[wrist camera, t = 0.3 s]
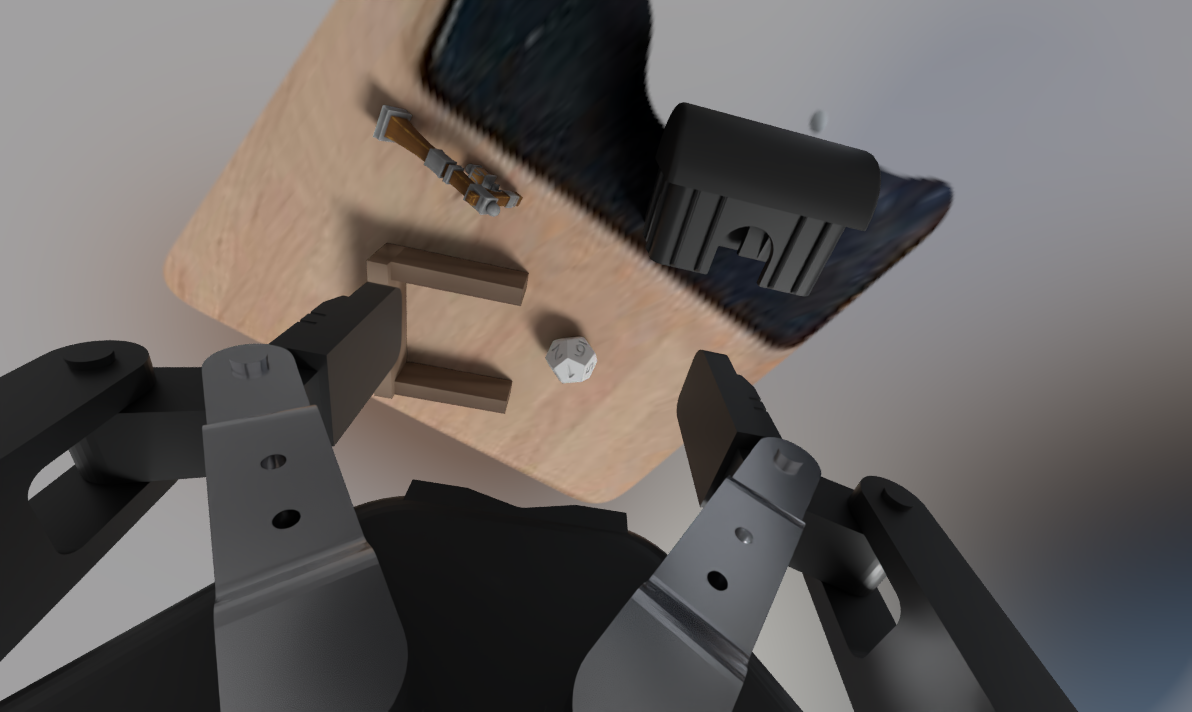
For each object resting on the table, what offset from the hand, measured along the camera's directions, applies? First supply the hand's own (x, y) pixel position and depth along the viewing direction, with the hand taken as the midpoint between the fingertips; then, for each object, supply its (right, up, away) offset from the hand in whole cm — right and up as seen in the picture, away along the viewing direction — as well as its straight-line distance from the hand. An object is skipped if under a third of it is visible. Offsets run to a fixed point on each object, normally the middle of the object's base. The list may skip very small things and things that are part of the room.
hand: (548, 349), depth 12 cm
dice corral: (-8, +2, +20) cm, 22 cm away
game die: (0, +1, +21) cm, 21 cm away
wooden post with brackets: (-7, +12, +14) cm, 19 cm away
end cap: (+9, +10, +15) cm, 20 cm away
